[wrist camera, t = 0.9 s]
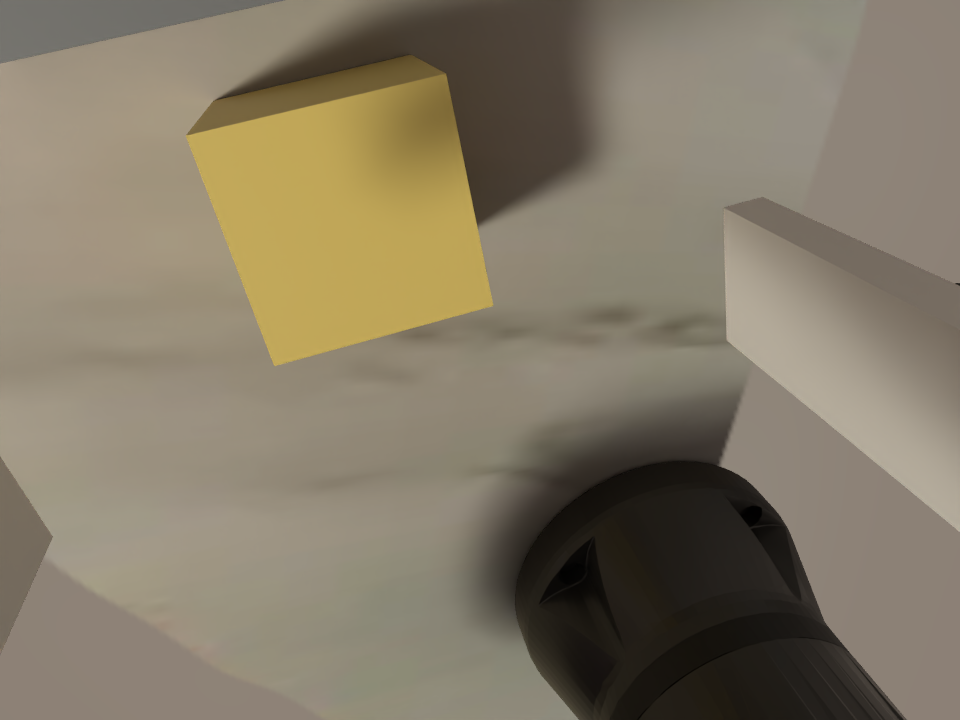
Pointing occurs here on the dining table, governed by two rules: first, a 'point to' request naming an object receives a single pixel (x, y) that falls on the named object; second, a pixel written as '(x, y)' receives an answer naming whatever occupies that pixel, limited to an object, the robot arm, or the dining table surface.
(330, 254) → the mustard yellow cube
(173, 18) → the board
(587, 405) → the dining table surface
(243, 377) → the dining table surface
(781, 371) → the robot arm
